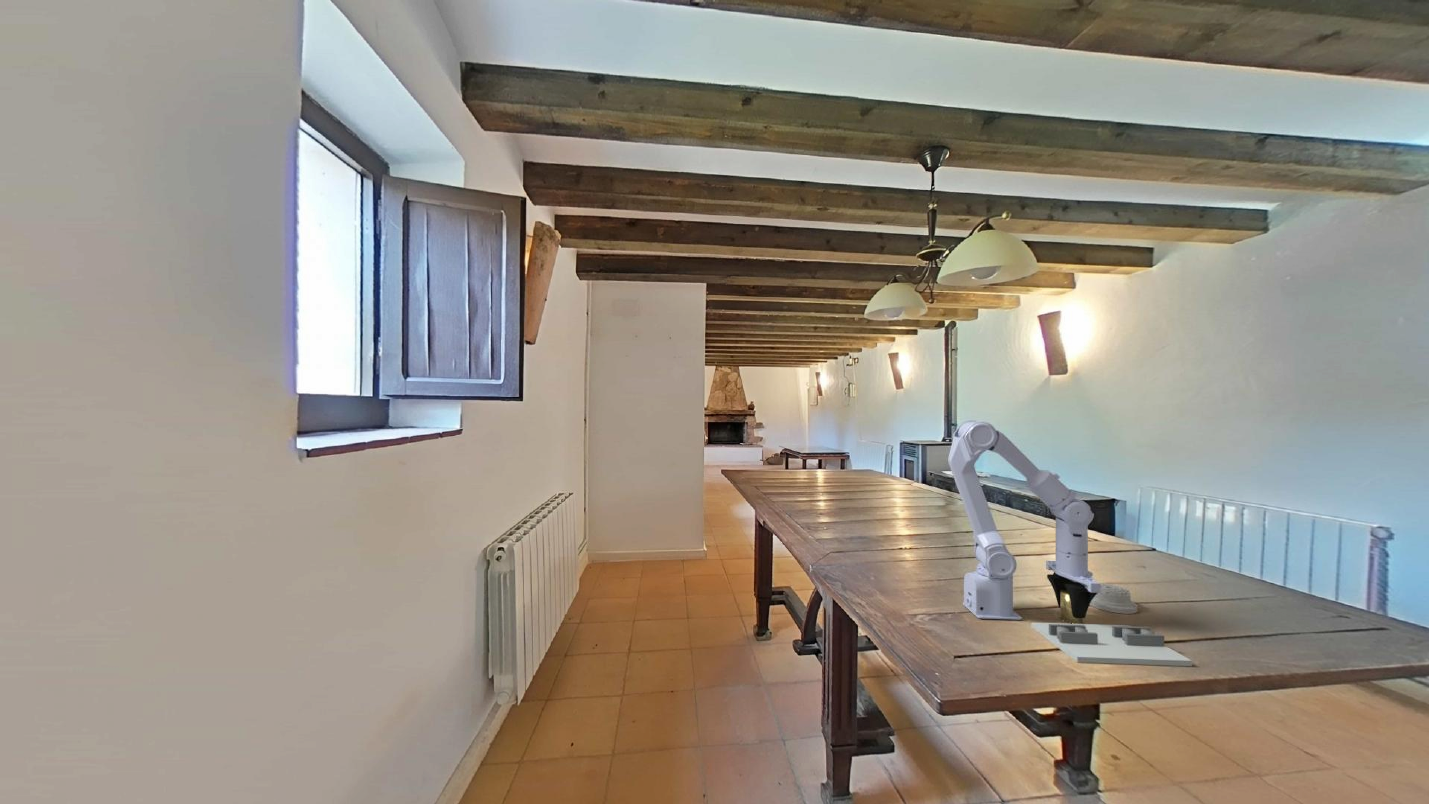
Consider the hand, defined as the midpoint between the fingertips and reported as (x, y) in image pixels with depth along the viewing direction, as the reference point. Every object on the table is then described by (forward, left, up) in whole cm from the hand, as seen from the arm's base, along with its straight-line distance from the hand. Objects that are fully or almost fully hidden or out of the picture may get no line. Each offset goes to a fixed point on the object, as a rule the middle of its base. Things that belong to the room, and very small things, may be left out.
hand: (1071, 613), depth 105 cm
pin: (0, 0, -2) cm, 2 cm away
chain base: (-1, -11, -2) cm, 11 cm away
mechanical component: (+15, +9, -2) cm, 18 cm away
